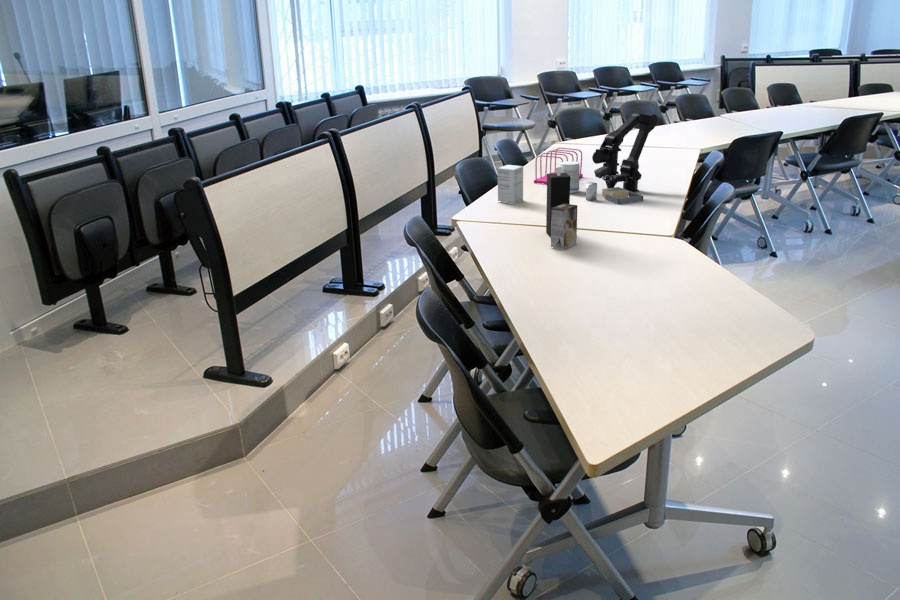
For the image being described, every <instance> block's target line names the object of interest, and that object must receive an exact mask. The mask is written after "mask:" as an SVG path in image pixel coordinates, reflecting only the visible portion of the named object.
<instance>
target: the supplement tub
mask: <svg viewBox="0 0 900 600" xmlns="http://www.w3.org/2000/svg"><path fill="white" fill-rule="evenodd" d="M580 166H581V164H580V162H579V161H578V162H576V160H574V161H572V160H571V161H570V160H568V161H567V160H566V161H563V162H562V161H561V162H560V167H562V171H561V173H567V174H568V175H569V176H570V177H571V181H570V194H575V193H578V192H579V191H580V178H579V175H580Z"/></svg>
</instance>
